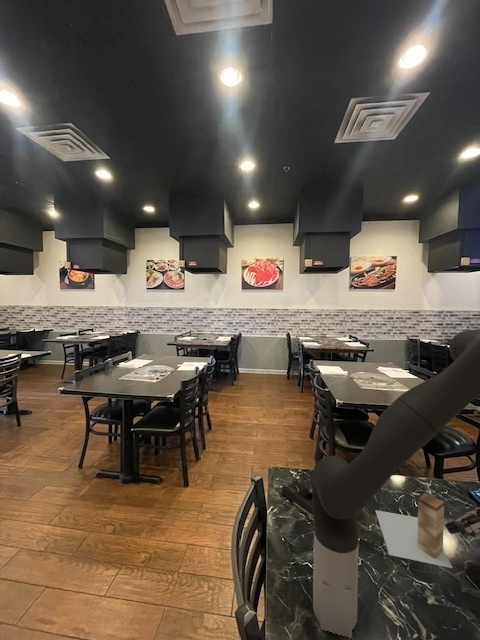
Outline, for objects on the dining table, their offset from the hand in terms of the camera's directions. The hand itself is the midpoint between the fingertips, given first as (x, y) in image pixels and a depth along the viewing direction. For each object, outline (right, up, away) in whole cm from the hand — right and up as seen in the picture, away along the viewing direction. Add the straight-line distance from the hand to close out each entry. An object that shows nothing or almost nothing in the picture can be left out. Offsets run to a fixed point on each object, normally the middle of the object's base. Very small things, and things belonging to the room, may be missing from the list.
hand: (448, 528), depth 74 cm
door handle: (-29, -9, +24) cm, 39 cm away
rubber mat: (-5, -9, +9) cm, 14 cm away
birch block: (-2, -9, +4) cm, 10 cm away
